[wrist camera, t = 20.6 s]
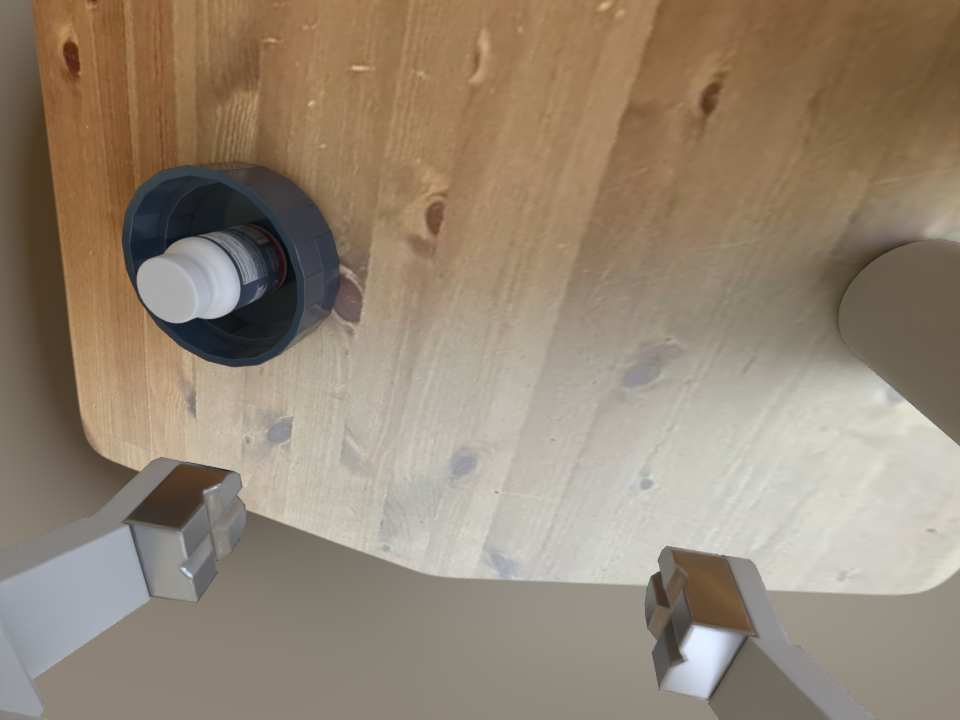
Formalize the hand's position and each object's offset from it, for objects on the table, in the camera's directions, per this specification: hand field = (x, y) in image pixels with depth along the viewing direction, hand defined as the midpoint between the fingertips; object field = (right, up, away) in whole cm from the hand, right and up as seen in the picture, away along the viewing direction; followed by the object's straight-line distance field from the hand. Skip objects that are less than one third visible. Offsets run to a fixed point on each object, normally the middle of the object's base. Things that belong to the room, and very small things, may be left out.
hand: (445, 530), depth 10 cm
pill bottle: (-16, +11, +28) cm, 34 cm away
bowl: (-16, +11, +29) cm, 34 cm away
